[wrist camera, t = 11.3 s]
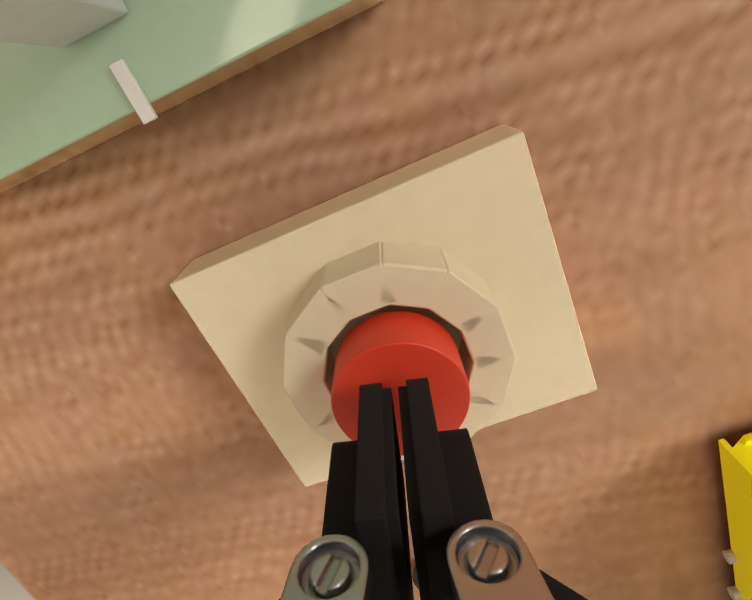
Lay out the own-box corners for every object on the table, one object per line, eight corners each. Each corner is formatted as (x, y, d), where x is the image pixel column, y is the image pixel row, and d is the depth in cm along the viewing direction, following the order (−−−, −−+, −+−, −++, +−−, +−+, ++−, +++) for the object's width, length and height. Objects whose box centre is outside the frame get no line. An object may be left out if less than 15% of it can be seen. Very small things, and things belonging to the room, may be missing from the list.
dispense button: (433, 291, 13) (442, 321, 11) (476, 392, 14) (489, 431, 13) (313, 338, 14) (306, 372, 12) (366, 430, 15) (365, 472, 13)
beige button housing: (503, 122, 15) (546, 139, 11) (573, 355, 18) (623, 425, 15) (192, 259, 16) (141, 312, 13) (311, 447, 20) (298, 529, 16)
